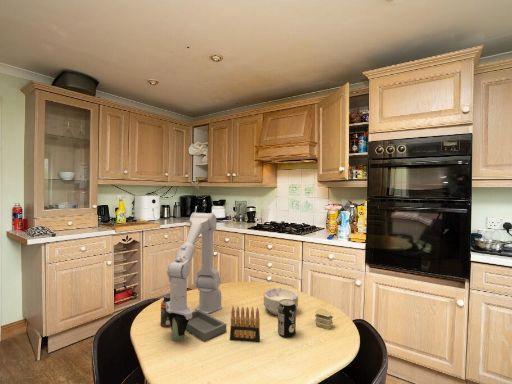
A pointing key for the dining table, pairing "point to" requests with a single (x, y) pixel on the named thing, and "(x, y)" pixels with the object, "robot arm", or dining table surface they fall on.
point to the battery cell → (175, 332)
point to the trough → (205, 326)
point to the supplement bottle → (164, 317)
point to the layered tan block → (323, 318)
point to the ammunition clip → (245, 326)
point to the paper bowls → (278, 298)
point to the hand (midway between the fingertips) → (178, 332)
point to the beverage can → (286, 318)
